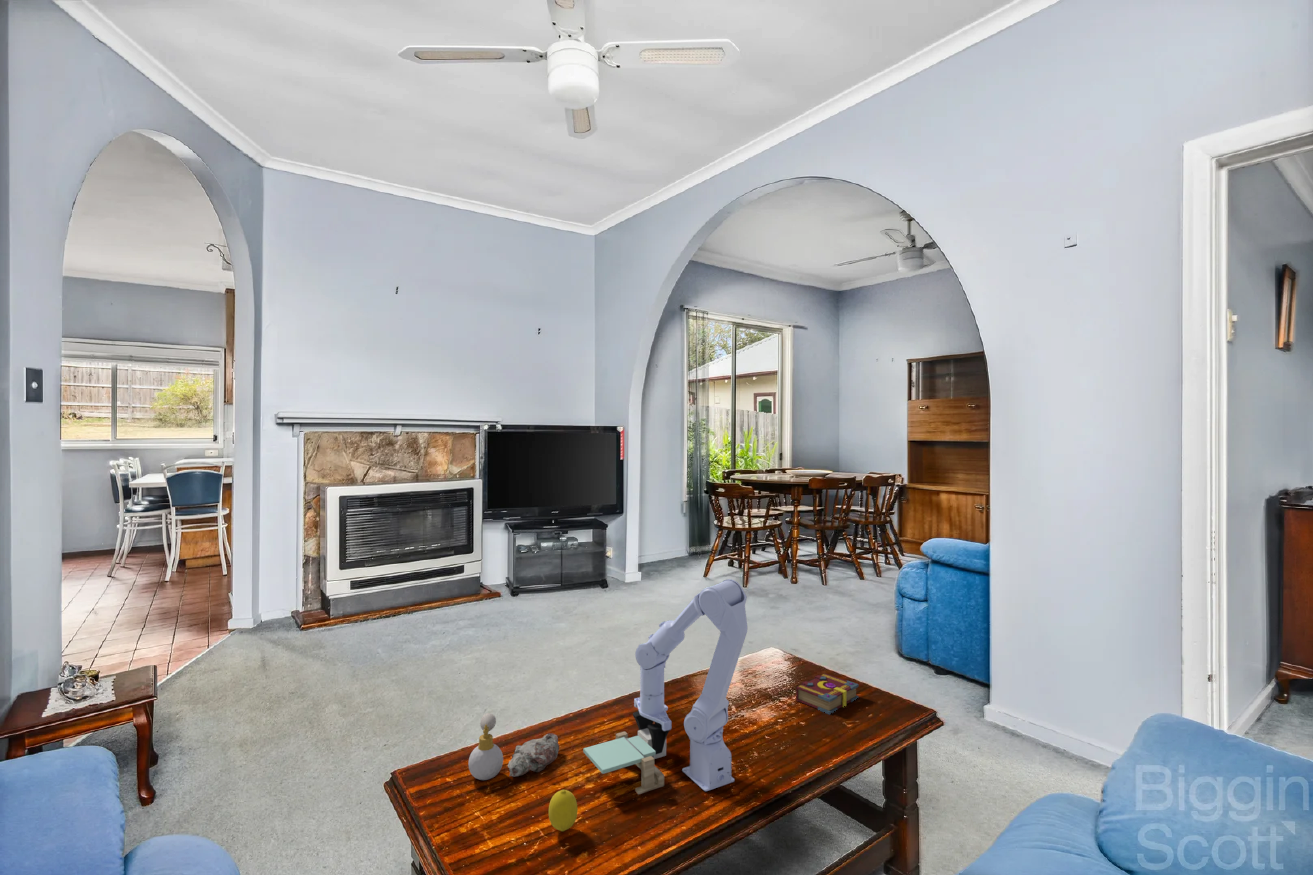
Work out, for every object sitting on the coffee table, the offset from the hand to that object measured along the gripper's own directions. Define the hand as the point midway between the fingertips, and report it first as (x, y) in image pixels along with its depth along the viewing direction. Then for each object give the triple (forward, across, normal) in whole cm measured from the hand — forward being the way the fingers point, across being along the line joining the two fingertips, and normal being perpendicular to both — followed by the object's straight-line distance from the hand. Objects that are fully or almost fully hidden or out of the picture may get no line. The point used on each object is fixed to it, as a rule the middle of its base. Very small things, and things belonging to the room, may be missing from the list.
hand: (651, 747), depth 149 cm
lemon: (+2, -16, +29) cm, 33 cm away
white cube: (+1, 0, 0) cm, 1 cm away
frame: (+1, -6, +8) cm, 10 cm away
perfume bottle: (+2, +11, +37) cm, 39 cm away
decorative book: (+2, 0, -58) cm, 59 cm away
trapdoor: (-3, -6, +11) cm, 13 cm away
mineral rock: (+2, +9, +26) cm, 28 cm away
